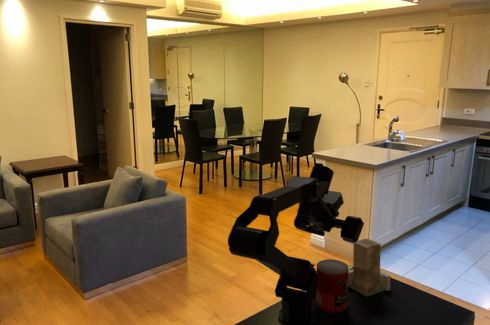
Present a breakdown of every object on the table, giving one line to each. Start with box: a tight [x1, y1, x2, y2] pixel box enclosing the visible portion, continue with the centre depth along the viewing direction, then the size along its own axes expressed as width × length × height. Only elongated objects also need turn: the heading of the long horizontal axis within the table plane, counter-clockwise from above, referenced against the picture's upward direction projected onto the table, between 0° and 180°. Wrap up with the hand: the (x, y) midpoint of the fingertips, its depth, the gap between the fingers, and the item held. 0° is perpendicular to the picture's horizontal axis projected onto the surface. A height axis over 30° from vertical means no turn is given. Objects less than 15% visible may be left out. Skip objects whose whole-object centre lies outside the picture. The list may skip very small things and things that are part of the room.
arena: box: [348, 268, 391, 298], centre depth 111 cm, size 13×9×4 cm
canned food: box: [316, 258, 349, 314], centre depth 102 cm, size 8×8×11 cm
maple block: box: [352, 238, 382, 293], centre depth 111 cm, size 5×5×13 cm
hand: (338, 238), depth 113 cm, fingers open, 9 cm apart
